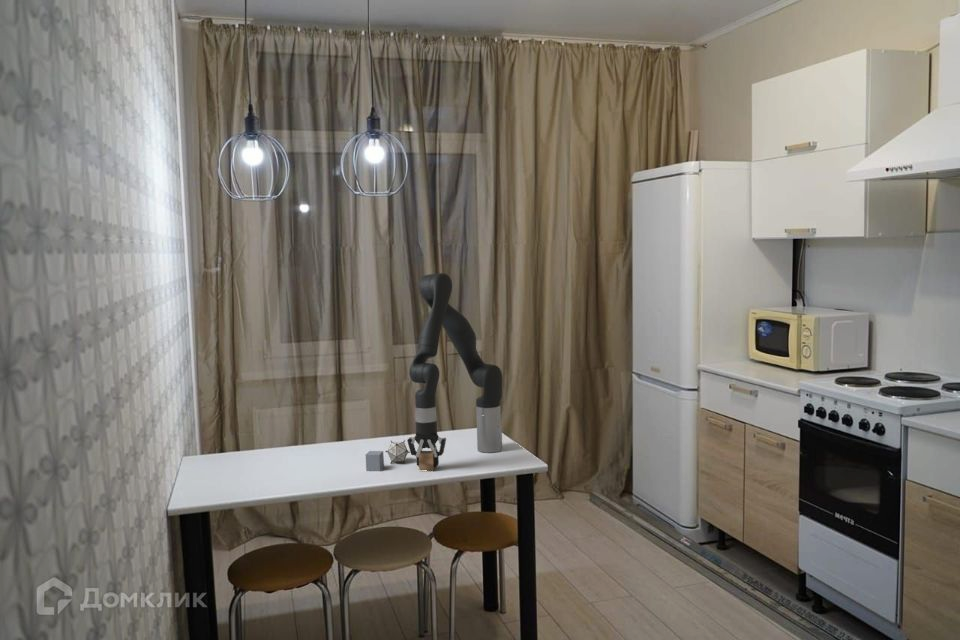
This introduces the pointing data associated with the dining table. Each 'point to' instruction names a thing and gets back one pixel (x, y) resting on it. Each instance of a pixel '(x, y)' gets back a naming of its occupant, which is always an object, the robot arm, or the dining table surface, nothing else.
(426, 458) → the walnut block
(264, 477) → the dining table surface
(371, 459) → the slate block
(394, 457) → the game die
